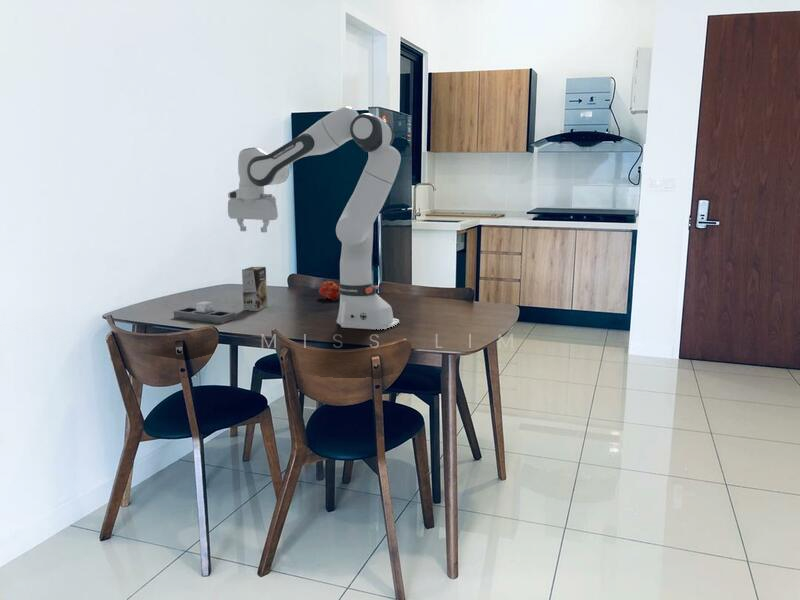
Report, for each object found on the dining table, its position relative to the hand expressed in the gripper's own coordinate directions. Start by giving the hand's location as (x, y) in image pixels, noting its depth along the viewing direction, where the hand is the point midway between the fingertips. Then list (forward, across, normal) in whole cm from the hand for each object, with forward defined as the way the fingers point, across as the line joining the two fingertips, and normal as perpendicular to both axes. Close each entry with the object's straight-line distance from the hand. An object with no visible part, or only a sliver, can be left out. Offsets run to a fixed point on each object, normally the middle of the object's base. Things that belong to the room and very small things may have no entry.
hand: (253, 231), depth 234 cm
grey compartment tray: (+31, +13, +14) cm, 36 cm away
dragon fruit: (+31, -10, -37) cm, 50 cm away
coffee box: (+31, +7, -8) cm, 33 cm away
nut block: (+31, +13, +14) cm, 36 cm away
